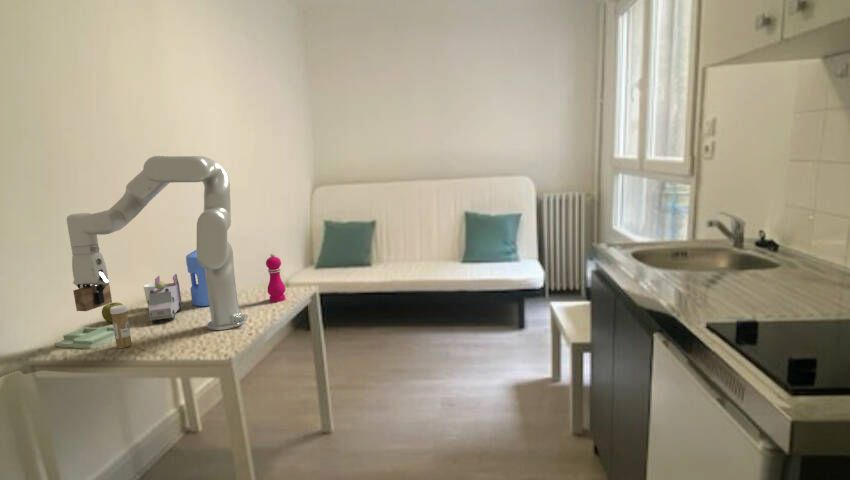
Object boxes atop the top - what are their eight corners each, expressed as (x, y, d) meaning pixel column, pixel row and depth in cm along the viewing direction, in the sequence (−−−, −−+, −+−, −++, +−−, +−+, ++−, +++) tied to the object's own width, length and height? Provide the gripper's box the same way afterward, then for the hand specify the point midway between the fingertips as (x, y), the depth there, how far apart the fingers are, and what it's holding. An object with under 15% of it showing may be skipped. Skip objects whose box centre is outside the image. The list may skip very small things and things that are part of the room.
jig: (128, 332, 178) (127, 325, 178) (91, 348, 164) (89, 340, 163) (94, 331, 182) (93, 324, 182) (54, 346, 168) (53, 339, 167)
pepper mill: (273, 297, 213) (268, 251, 210) (289, 297, 212) (284, 251, 209) (265, 302, 206) (260, 255, 203) (282, 302, 205) (276, 254, 202)
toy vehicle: (148, 325, 185) (141, 286, 183) (160, 311, 204) (155, 275, 201) (175, 322, 187) (169, 283, 185) (185, 308, 206) (180, 272, 204)
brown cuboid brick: (112, 302, 174) (109, 282, 173) (86, 311, 165) (82, 290, 164) (103, 302, 175) (99, 282, 174) (76, 310, 166) (73, 290, 165)
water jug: (235, 295, 222) (227, 232, 217) (226, 305, 207) (218, 238, 202) (198, 298, 220) (190, 235, 215) (187, 308, 205) (177, 241, 200)
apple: (100, 326, 188) (97, 308, 187) (107, 320, 195) (104, 302, 194) (123, 323, 190) (120, 305, 188) (129, 317, 197) (126, 299, 196)
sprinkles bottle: (131, 346, 163) (124, 307, 161) (115, 349, 161) (108, 309, 159) (133, 342, 167) (127, 303, 165) (117, 345, 166) (111, 306, 163)
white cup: (169, 307, 208) (166, 284, 206) (148, 311, 203) (144, 288, 202) (166, 303, 214) (163, 281, 213) (146, 307, 210) (142, 284, 208)
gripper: (115, 248, 168) (123, 300, 171) (76, 248, 173) (85, 299, 176) (95, 252, 161) (104, 307, 164) (55, 252, 165) (64, 305, 168)
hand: (94, 302), depth 170 cm, fingers closed on brown cuboid brick, 4 cm apart
